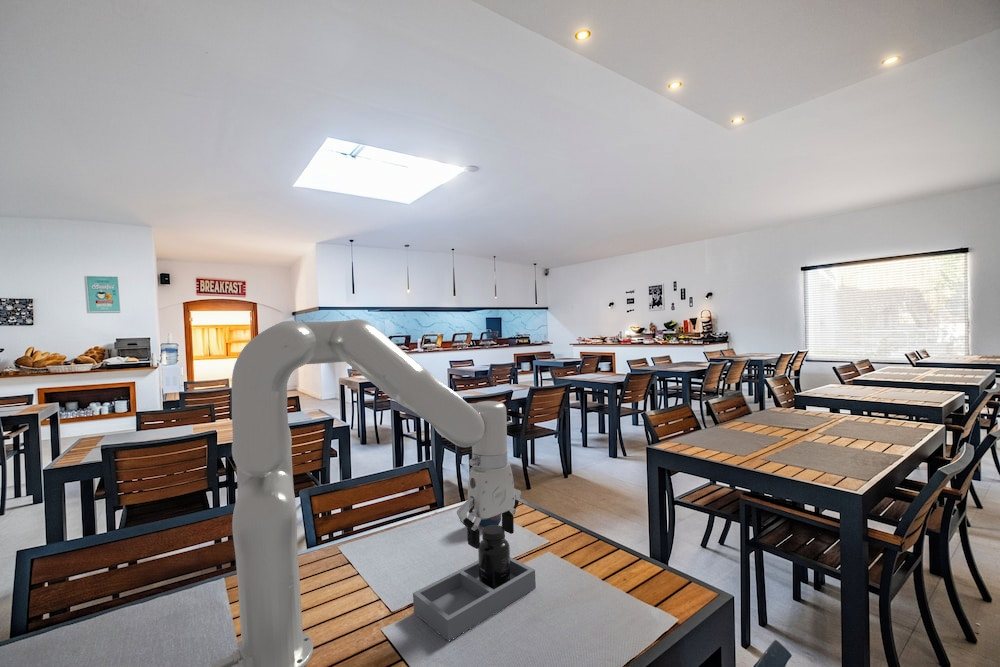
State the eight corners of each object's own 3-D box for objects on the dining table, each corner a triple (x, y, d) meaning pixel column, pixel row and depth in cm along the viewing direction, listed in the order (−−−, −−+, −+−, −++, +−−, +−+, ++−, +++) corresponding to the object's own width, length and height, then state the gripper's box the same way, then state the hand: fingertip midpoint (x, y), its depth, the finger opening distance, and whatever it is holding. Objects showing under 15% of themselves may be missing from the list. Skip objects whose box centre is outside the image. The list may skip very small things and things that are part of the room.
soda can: (493, 531, 126) (491, 488, 125) (472, 526, 129) (470, 484, 129) (505, 521, 132) (504, 480, 131) (485, 517, 135) (483, 477, 135)
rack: (448, 641, 83) (447, 620, 83) (413, 612, 92) (412, 593, 92) (535, 587, 98) (534, 569, 98) (498, 567, 107) (497, 550, 107)
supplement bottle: (473, 588, 97) (471, 533, 97) (488, 572, 103) (486, 520, 103) (502, 596, 94) (500, 539, 94) (516, 579, 100) (514, 525, 100)
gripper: (469, 472, 89) (470, 559, 90) (530, 455, 101) (531, 531, 101) (446, 464, 95) (448, 546, 95) (507, 448, 106) (508, 521, 107)
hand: (491, 538), depth 98 cm, fingers open, 9 cm apart
